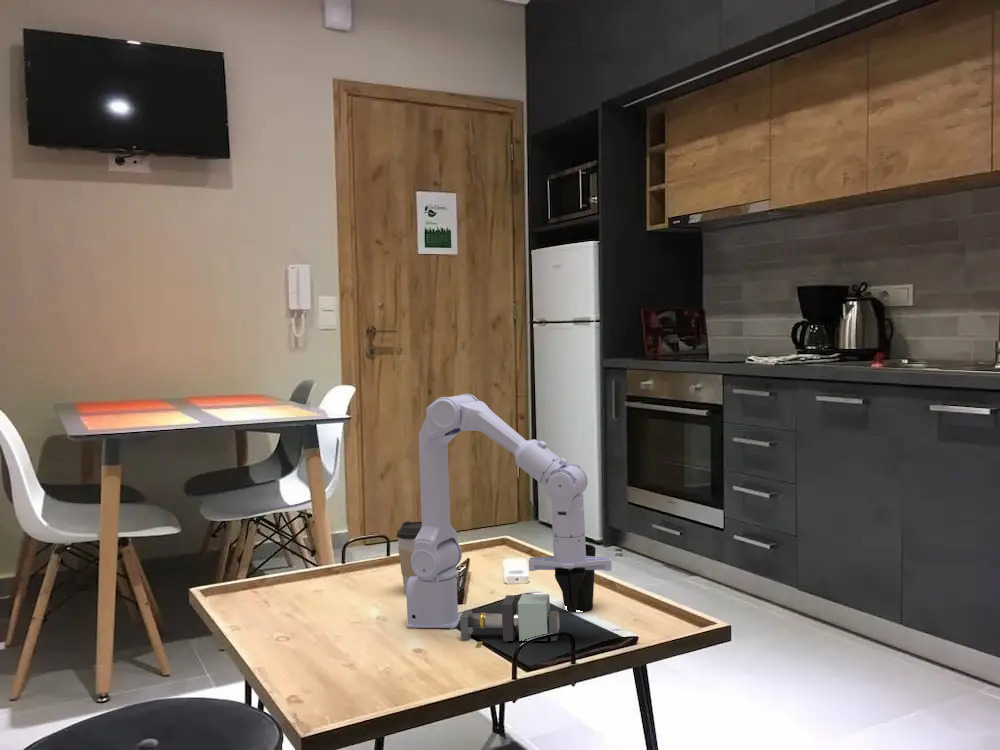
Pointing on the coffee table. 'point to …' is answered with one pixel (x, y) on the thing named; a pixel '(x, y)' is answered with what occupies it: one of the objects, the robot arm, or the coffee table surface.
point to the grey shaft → (496, 622)
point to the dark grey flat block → (509, 617)
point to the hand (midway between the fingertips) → (572, 610)
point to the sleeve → (533, 615)
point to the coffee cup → (407, 548)
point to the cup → (586, 586)
